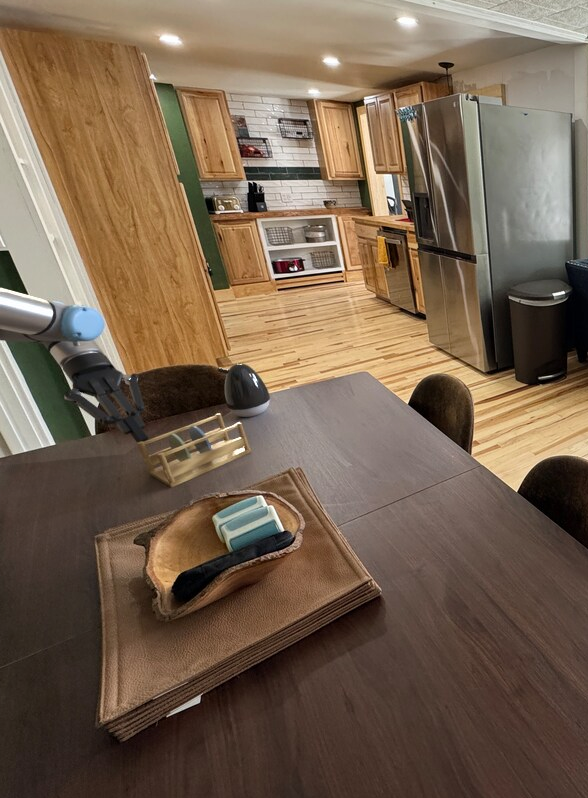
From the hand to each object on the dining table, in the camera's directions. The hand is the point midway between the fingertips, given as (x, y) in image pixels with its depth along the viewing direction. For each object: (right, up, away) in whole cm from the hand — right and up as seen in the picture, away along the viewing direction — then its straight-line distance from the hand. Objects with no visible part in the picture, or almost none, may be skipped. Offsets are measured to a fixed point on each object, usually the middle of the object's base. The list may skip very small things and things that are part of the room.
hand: (143, 441), depth 108 cm
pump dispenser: (+4, +4, +29) cm, 29 cm away
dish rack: (+12, -5, +2) cm, 13 cm away
